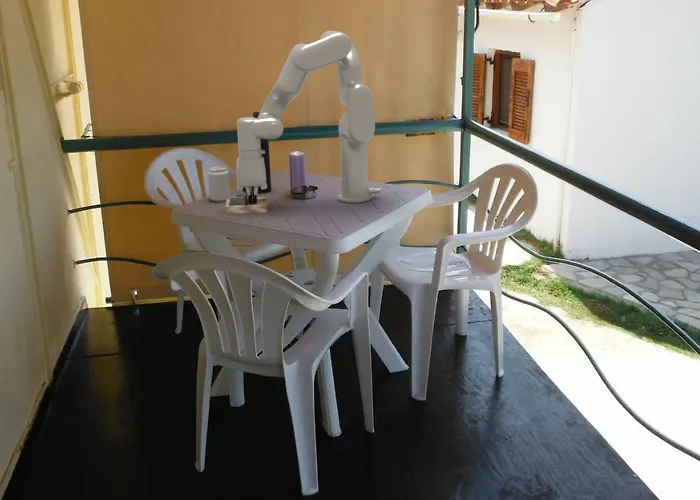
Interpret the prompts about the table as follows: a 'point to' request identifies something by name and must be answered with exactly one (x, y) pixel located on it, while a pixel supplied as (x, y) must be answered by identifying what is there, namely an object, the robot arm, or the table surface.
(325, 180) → the table surface
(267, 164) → the wine bottle
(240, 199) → the dice cube
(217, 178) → the can
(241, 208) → the bay
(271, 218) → the table surface
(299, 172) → the beverage can
